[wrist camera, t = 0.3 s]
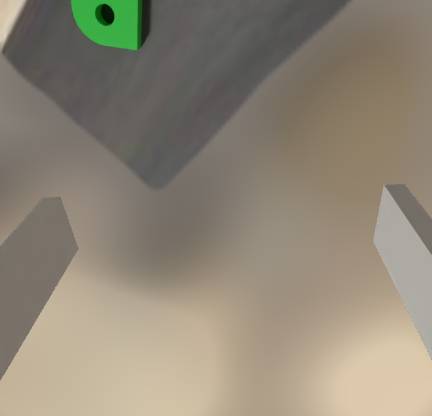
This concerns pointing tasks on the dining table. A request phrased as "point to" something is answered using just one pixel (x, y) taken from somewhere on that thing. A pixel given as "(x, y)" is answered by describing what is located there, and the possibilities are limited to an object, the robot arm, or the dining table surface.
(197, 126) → the dining table surface
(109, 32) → the mechanical part
